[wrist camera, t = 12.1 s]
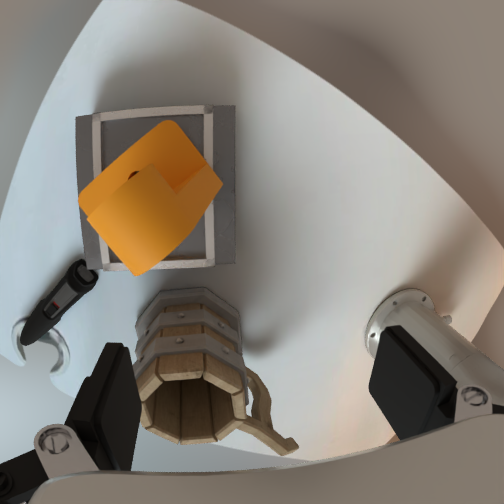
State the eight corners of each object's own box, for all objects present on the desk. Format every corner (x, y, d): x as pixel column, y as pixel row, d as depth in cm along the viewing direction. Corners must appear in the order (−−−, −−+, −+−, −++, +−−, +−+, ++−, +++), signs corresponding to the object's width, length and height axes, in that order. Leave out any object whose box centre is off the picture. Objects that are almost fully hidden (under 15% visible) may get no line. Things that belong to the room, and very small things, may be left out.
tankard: (122, 339, 38) (97, 423, 24) (178, 267, 37) (171, 339, 23) (239, 406, 45) (256, 487, 31) (298, 351, 43) (337, 428, 29)
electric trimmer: (20, 323, 36) (11, 334, 33) (80, 255, 35) (71, 264, 32) (38, 341, 37) (30, 354, 34) (102, 277, 36) (94, 289, 33)
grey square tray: (229, 111, 32) (236, 104, 27) (230, 248, 37) (236, 266, 32) (91, 120, 30) (72, 116, 24) (99, 254, 35) (84, 272, 29)
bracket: (172, 118, 26) (156, 97, 15) (221, 180, 29) (236, 201, 18) (83, 194, 27) (22, 224, 16) (131, 252, 29) (98, 312, 18)
